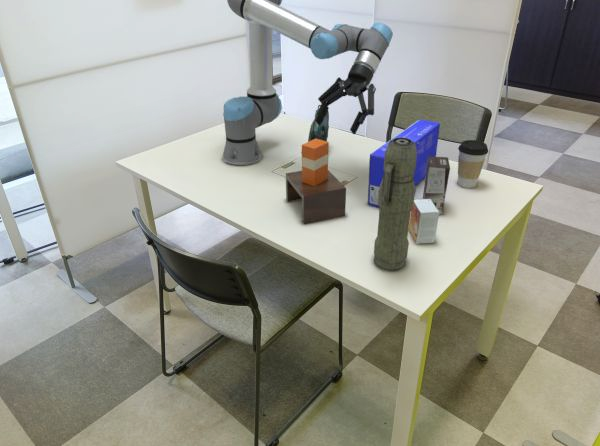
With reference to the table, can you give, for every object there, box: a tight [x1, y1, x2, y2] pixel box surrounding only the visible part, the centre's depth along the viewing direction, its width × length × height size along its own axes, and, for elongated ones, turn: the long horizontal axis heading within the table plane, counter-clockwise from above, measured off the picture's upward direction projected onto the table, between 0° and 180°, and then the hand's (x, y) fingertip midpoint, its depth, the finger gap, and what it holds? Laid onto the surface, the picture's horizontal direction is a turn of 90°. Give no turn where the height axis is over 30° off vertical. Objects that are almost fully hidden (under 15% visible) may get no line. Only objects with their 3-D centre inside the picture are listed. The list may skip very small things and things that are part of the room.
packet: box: [301, 139, 330, 186], centre depth 150 cm, size 5×7×12 cm
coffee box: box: [422, 156, 451, 215], centre depth 154 cm, size 9×6×16 cm
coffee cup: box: [457, 139, 489, 189], centre depth 168 cm, size 10×10×15 cm
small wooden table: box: [285, 169, 347, 225], centre depth 156 cm, size 17×14×10 cm
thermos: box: [373, 138, 417, 272], centre depth 123 cm, size 9×12×35 cm
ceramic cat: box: [307, 104, 330, 142], centre depth 191 cm, size 20×6×20 cm, turn 164°
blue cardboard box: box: [367, 119, 441, 209], centre depth 167 cm, size 39×8×18 cm, turn 145°
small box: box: [408, 198, 440, 245], centre depth 140 cm, size 8×6×10 cm
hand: (334, 127), depth 152 cm, fingers open, 13 cm apart
